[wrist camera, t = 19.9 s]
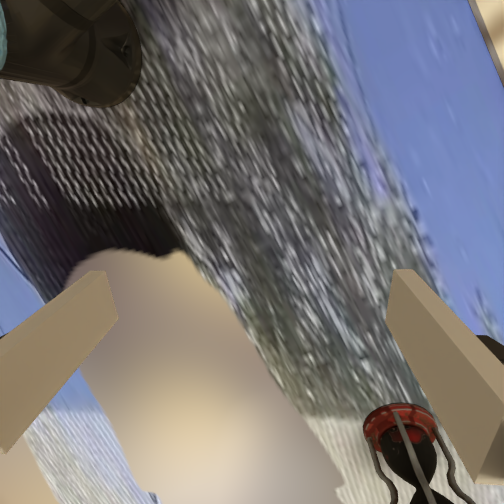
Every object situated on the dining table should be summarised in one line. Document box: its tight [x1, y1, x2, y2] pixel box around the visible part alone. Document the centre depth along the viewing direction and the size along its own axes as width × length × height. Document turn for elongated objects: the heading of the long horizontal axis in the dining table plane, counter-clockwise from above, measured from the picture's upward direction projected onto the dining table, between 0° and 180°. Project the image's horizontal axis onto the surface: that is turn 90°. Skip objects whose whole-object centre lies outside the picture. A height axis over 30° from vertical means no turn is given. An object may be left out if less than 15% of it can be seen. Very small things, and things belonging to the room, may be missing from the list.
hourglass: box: [363, 403, 476, 504], centre depth 56 cm, size 16×16×25 cm
